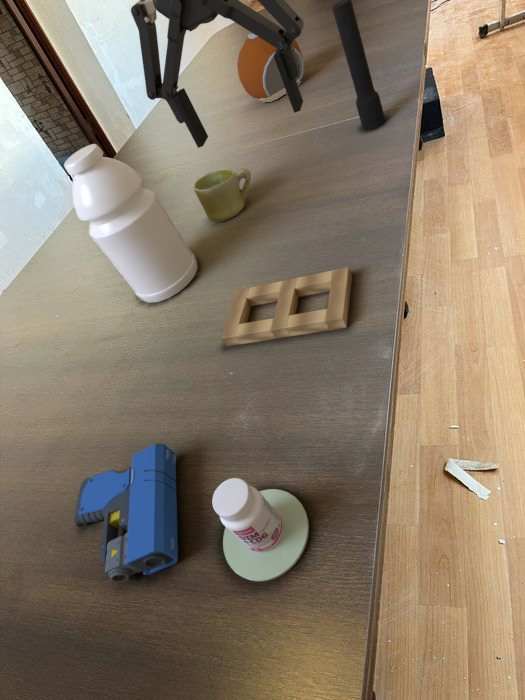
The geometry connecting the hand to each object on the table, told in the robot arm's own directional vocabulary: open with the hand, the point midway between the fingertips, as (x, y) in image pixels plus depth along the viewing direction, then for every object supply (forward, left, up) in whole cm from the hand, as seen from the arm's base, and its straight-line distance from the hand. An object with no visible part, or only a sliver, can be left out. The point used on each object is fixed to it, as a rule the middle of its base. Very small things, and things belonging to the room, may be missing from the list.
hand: (249, 125), depth 62 cm
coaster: (+1, +41, -26) cm, 49 cm away
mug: (+23, -31, -27) cm, 46 cm away
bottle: (+33, -10, -27) cm, 43 cm away
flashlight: (-7, -50, -27) cm, 57 cm away
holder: (+4, +6, -26) cm, 27 cm away
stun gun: (+20, +40, -27) cm, 52 cm away
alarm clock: (+23, -92, -27) cm, 98 cm away
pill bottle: (+1, +41, -26) cm, 49 cm away
